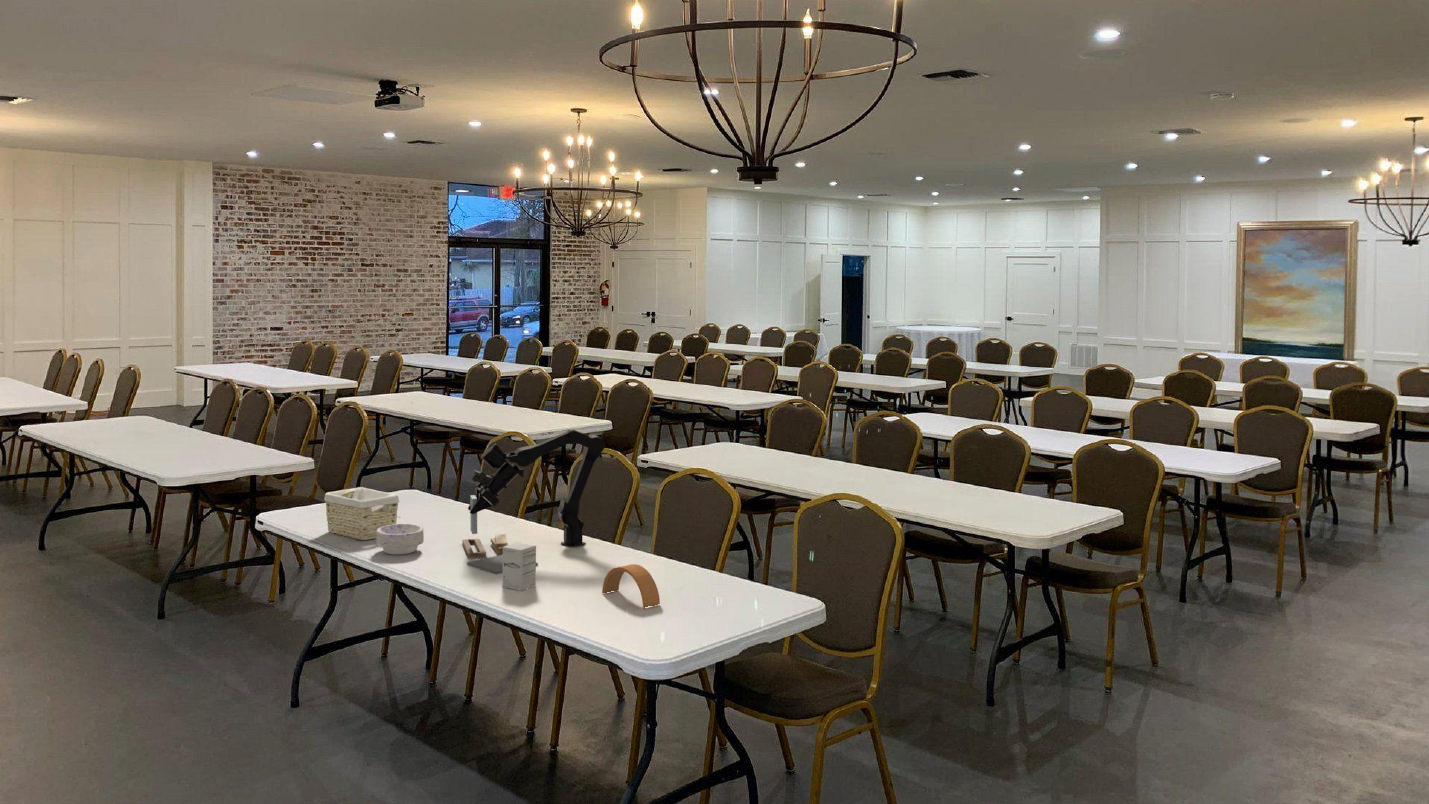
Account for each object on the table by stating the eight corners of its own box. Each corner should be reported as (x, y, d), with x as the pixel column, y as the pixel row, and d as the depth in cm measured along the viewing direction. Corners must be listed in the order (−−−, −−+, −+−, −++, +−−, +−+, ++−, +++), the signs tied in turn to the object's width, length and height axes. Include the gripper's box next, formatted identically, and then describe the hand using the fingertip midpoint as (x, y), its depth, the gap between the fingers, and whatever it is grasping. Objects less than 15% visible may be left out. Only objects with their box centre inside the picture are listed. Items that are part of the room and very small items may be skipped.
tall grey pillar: (475, 529, 369) (475, 495, 368) (477, 533, 363) (477, 498, 362) (470, 530, 369) (470, 495, 367) (472, 534, 363) (472, 498, 362)
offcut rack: (504, 541, 380) (504, 532, 380) (512, 555, 361) (512, 545, 361) (462, 543, 375) (462, 534, 375) (468, 558, 356) (468, 548, 356)
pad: (537, 565, 349) (537, 562, 349) (496, 574, 338) (496, 571, 338) (508, 556, 360) (508, 553, 360) (467, 564, 349) (467, 562, 349)
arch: (617, 590, 323) (618, 557, 322) (660, 606, 308) (660, 572, 307) (601, 594, 319) (602, 560, 318) (644, 610, 305) (644, 575, 303)
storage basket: (322, 532, 389) (322, 491, 387) (362, 525, 401) (361, 485, 400) (361, 543, 374) (360, 501, 372) (401, 535, 387) (400, 494, 385)
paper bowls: (395, 559, 353) (395, 535, 352) (367, 552, 362) (366, 528, 361) (433, 551, 365) (433, 528, 364) (405, 543, 374) (404, 521, 373)
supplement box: (501, 588, 323) (501, 546, 322) (517, 582, 330) (517, 541, 328) (521, 591, 320) (521, 549, 318) (536, 585, 326) (536, 544, 325)
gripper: (482, 457, 373) (449, 490, 371) (488, 466, 356) (454, 501, 354) (505, 479, 377) (473, 511, 375) (512, 489, 359) (479, 523, 357)
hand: (469, 511), depth 365 cm, fingers closed on tall grey pillar, 6 cm apart
